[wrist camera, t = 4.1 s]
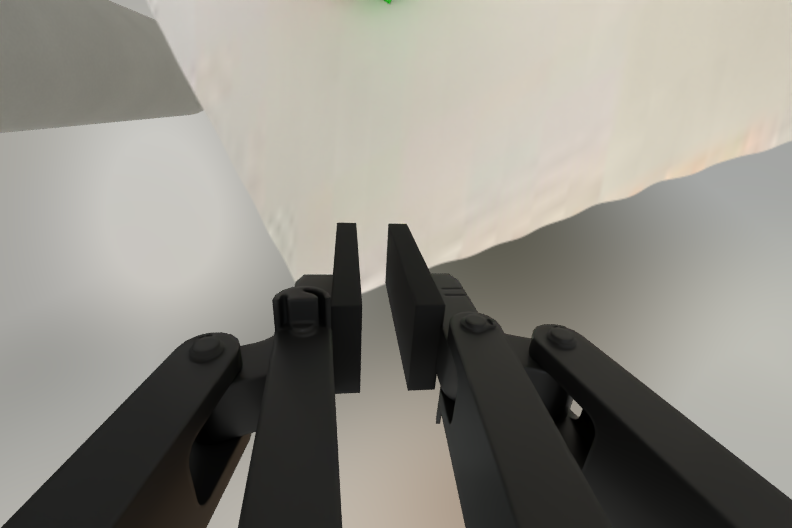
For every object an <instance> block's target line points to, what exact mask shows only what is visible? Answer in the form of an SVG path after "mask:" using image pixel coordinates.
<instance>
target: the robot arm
mask: <svg viewBox="0 0 792 528" xmlns="http://www.w3.org/2000/svg"><path fill="white" fill-rule="evenodd" d="M385 283H386V288H387V293H388V297H389V302H390V307H391V312H392V316H393V321H394V326H395V331H396V336H397V340H398V345H399V350H400V355H401V360H402V364H403V369H404V374H405V379H406V382H407V383H406V384H407V388H408V391H409V390H430V389H431V390H432V389H435V382H436V375H437V376H438V379H439V382H440V385H441V387H440V395H439V401H438V408H437V416H436V424H440V420H441V416H442V419H443V424H444V428H445V433H446V438H447V443H448V447H449V452H450V457H451V461H452V466H453V471H454V476H455V480H456V485H457V490H458V494H459V499H460V504H461V508H462V513H463V518H464V523H465V527H466V528H792V500H791V499H790V498H789V497H787V496H786V495H785V494H784V493H782V492H781V491H780V490H779V489H777V488H776V487H775V486H774V485H772V484H771V483H769V482H768V481H767V480H766V479H765V478H763V477H762V476H760V475H759V474H758V473H757V472H756V471H754V470H753V469H752V468H750V467H749V466H748V465H747V464H745V463H744V462H743V461H742V460H740V459H739V458H738V457H736V456H735V455H734V454H733V453H731V452H730V451H729V450H728V449H726V448H725V447H724V446H722V445H721V444H720V443H719V442H717V441H716V440H715V439H713V438H712V437H711V436H710V435H708V434H707V433H706V432H705V431H703V430H702V429H701V428H699V427H698V426H697V425H696V424H694V423H693V422H692V421H691V420H689V419H688V418H687V417H685V416H684V415H683V414H682V413H680V412H679V411H678V410H677V409H675V408H674V407H673V406H671V405H670V404H669V403H668V402H666V401H665V400H664V399H662V398H661V397H660V396H659V395H657V394H656V393H654V391H652V390H651V389H650V388H648V387H647V386H646V385H645V384H643V383H642V382H641V381H639V380H638V379H637V378H636V377H634V376H633V375H632V374H631V373H629V372H628V371H627V370H625V369H624V368H623V367H622V366H620V365H619V364H618V363H617V362H615V361H614V360H613V359H611V358H610V357H609V356H608V355H606V354H605V353H604V352H603V351H601V350H600V349H599V348H597V347H596V346H595V345H594V344H592V343H591V342H590V341H588V340H587V339H586V338H585V337H583V336H582V335H580V334H579V333H577V332H575V331H574V330H571V329H568V328H566V327H565V326H561V325H555V324H551V325H550V324H544V325H540V326H537V327H536V328H535V329H534V330H533V334H532V338H525V337H519V336H514V335H509V334H505V333H504V332H503V330H502V328H501V326H500V325H499V324H498V323H497V321H496V320H494V319H492V318H491V317H489V316H487V315H484V314H481V313H478V311H477V310H476V308H475V307H474V305H473V303H472V302H471V300H470V299H469V297H468V296H467V294H466V292H465V290H464V289H463V287H462V286H461V284H460V282H459V281H458V280H457V279H456V278H454V277H453V276H451V275H450V274H430V272H429V269H428V267H427V265H426V263H425V261H424V259H423V257H422V255H421V253H420V251H419V249H418V246H417V244H416V242H415V240H414V238H413V236H412V234H411V232H410V230H409V228H408V226H407V224H389V225H388V244H387V263H386V282H385ZM272 301H273V311H274V324H275V334H274V336H272V337H270V338H268V339H266V340H263V341H260V342H257V343H253V344H248V345H243V346H240V344H239V341H238V339H237V338H236V337H234V336H233V335H231V334H227V333H222V332H221V333H206V334H202V335H198V336H196V337H194V338H191V339H189V340H187V341H185V342H184V343H183V344H181V345H180V346H179V347H177V348H176V349H175V350H174V351H173V352H172V353H171V355H169V356H168V358H167V359H166V360H165V361H164V362H163V363H162V364H161V365H160V366H159V367H158V368H157V369H156V370H155V371H154V372H153V373H152V374H151V375H150V376H149V377H148V378H147V379H146V380H145V381H144V382H143V383H142V384H141V385H140V386H139V387H138V388H137V389H136V390H135V391H134V392H133V393H132V394H131V395H130V396H129V397H128V399H126V400H125V402H123V404H121V406H120V407H119V408H118V409H117V410H116V411H115V412H114V413H113V414H112V415H111V416H110V417H109V418H108V419H107V420H106V421H105V422H104V423H103V424H102V425H101V426H100V427H99V428H98V429H97V430H96V431H95V432H94V433H93V434H92V435H91V436H90V437H89V438H88V439H87V440H86V441H85V443H83V444H82V445H81V446H80V448H78V449H77V451H76V452H75V453H74V454H73V455H72V456H71V457H70V458H69V459H68V460H67V461H66V462H65V463H64V464H63V465H62V466H61V467H60V468H59V469H58V470H57V471H56V472H55V473H54V474H53V475H52V476H51V477H50V478H49V479H48V480H47V481H46V482H45V483H44V484H43V485H42V486H41V487H40V488H39V489H38V490H37V491H36V493H34V494H33V495H32V496H31V498H30V499H29V500H28V501H27V502H26V503H25V504H24V505H23V506H22V507H21V508H20V509H19V510H18V511H17V512H16V513H15V514H14V515H13V516H12V517H11V518H10V519H9V520H8V521H7V522H6V523H5V524H4V525H3V526H2V527H1V528H206V527H207V525H208V523H209V521H210V519H211V517H212V515H213V513H214V511H215V509H216V507H217V505H218V503H219V501H220V499H221V497H222V494H223V493H224V491H225V489H226V487H227V485H228V483H229V481H230V479H231V477H232V475H233V473H234V470H235V468H236V466H237V464H238V462H239V460H240V458H241V456H242V454H243V452H244V450H245V448H246V446H247V444H248V442H249V440H250V437H251V433H253V432H256V435H255V440H254V445H253V450H252V456H251V461H250V466H249V472H248V477H247V482H246V488H245V493H244V499H243V504H242V509H241V514H240V520H239V525H238V528H342V515H341V498H340V479H339V462H338V444H337V443H338V442H337V424H336V407H335V394H341V393H360V371H361V330H362V298H361V284H360V270H359V256H358V242H357V229H356V223H337V231H336V244H335V256H334V268H333V275H303V276H302V277H301V278H300V279H299V280H297V281H296V283H295V287H291V288H288V289H285V290H282V291H281V292H279V293H278V294H276V295H275V297H274V298H273V300H272ZM573 399H574V400H575V401H576V402H577V403H578V404H579V405H580V406H581V407H582V408H583V410H582V412H581V415H580V417H578V416H577V415H575V414H574V413H573V412H572V411H571V410H570V407H571V404H572V401H573Z"/></svg>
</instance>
